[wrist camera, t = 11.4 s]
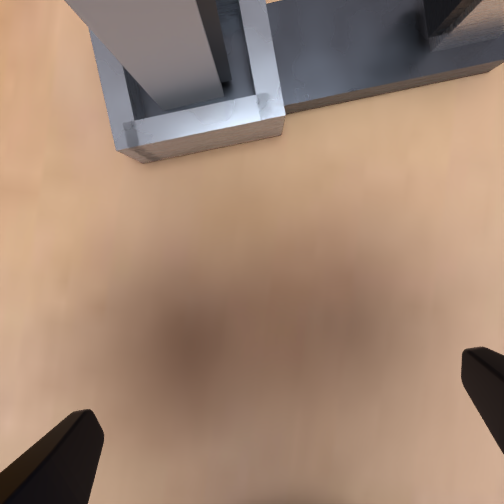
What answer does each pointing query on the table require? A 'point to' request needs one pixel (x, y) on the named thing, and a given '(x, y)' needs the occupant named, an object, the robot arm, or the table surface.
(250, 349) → the table surface
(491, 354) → the robot arm
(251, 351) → the table surface
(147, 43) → the tall grey pillar
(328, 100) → the grey l-shaped stand
